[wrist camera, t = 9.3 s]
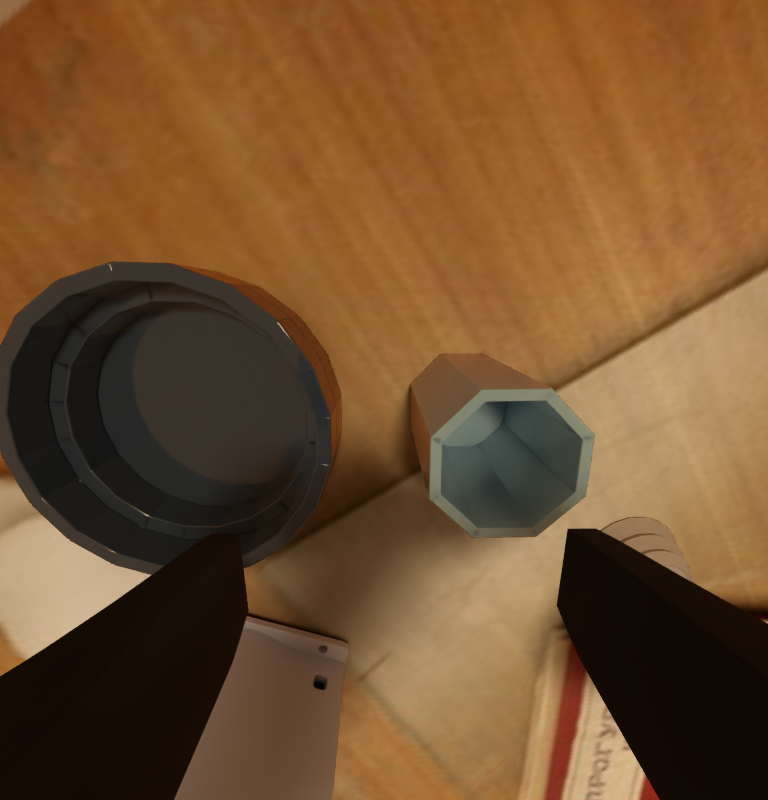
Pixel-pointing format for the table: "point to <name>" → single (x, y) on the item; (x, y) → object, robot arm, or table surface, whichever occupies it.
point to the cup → (497, 446)
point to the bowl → (166, 412)
